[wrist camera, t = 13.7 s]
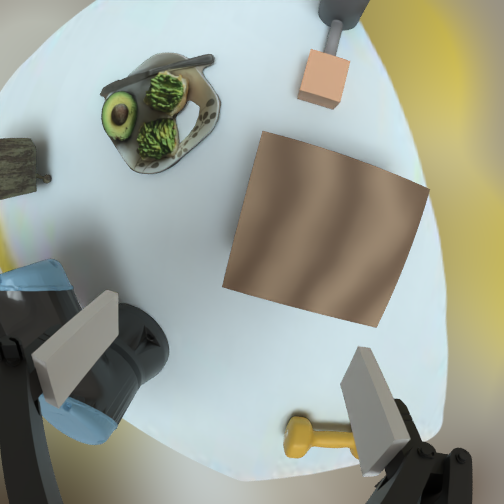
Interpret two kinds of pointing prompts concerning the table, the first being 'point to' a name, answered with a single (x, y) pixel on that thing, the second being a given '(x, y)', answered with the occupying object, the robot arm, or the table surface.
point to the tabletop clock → (18, 167)
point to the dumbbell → (313, 438)
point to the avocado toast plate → (158, 110)
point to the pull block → (330, 54)
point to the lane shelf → (323, 231)
